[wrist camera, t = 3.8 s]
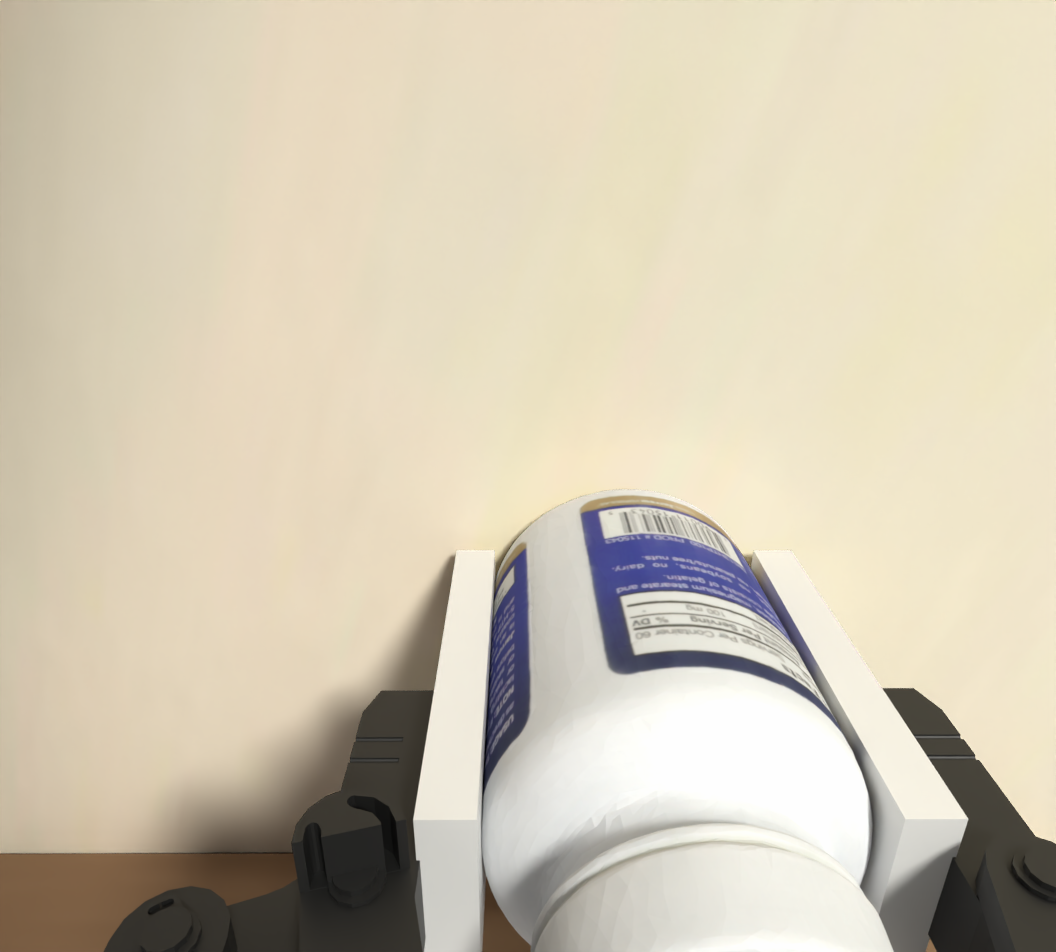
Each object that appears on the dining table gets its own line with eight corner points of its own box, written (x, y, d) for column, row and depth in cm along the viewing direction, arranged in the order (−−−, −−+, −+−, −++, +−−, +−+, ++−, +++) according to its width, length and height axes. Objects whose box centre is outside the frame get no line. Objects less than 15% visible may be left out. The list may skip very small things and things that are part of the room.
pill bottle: (590, 735, 17) (653, 1266, 9) (440, 579, 16) (351, 1059, 7) (795, 613, 16) (1080, 1104, 8) (655, 429, 14) (834, 809, 6)
